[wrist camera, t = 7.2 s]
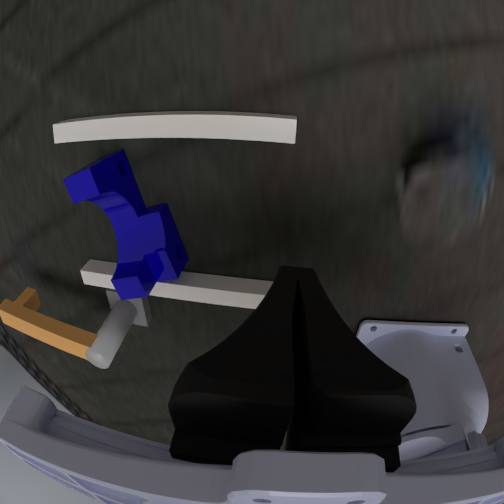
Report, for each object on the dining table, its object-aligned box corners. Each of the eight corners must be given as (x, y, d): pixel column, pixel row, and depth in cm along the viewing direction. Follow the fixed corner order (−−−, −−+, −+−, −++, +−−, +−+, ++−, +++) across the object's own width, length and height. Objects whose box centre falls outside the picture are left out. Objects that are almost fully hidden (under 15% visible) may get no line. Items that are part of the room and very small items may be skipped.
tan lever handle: (136, 303, 22) (106, 355, 18) (137, 321, 23) (110, 371, 19) (30, 271, 22) (-5, 308, 18) (35, 287, 23) (2, 325, 19)
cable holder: (189, 256, 21) (169, 294, 18) (145, 264, 22) (121, 300, 18) (146, 140, 17) (112, 158, 14) (100, 157, 18) (63, 179, 15)
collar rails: (296, 115, 15) (296, 119, 14) (274, 335, 23) (272, 349, 22) (67, 119, 16) (52, 124, 15) (103, 308, 24) (96, 320, 23)
